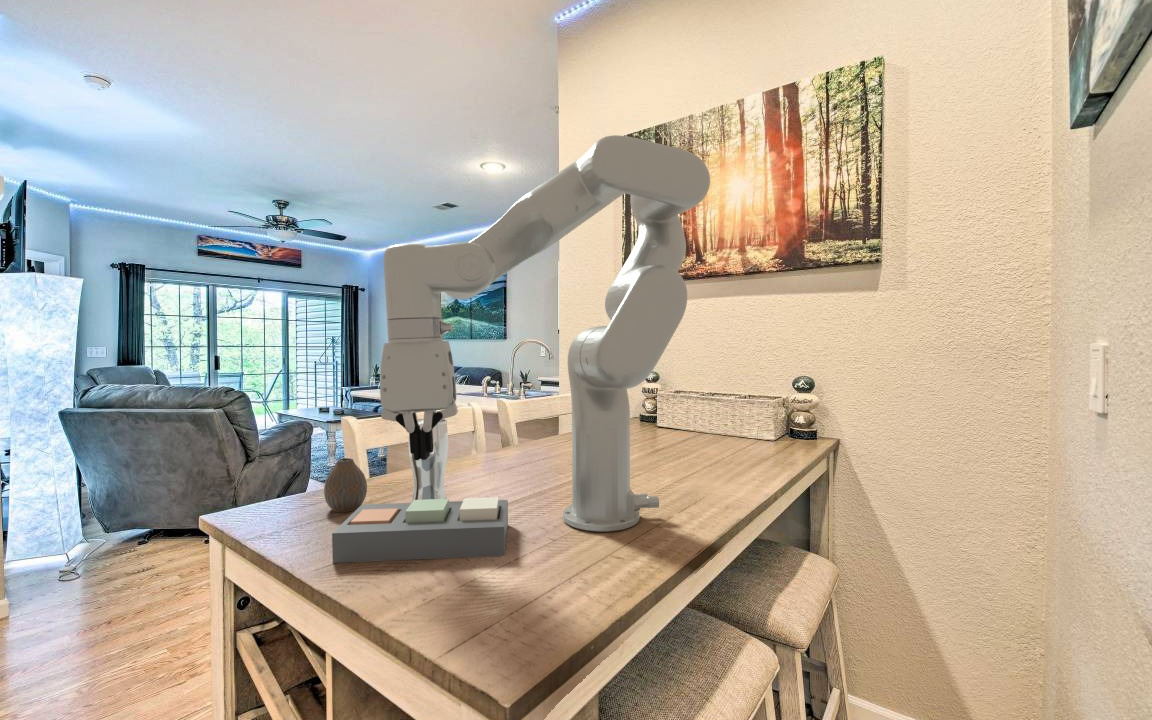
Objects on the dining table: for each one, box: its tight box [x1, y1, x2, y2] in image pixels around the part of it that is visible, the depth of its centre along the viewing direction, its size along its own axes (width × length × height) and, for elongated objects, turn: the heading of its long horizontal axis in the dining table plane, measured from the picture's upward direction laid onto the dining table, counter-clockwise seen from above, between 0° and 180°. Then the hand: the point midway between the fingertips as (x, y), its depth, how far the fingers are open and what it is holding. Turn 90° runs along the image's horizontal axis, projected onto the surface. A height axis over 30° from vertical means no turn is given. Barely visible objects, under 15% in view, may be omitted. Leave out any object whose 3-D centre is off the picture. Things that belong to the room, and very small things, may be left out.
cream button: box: [460, 496, 500, 521], centre depth 75 cm, size 5×5×4 cm
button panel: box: [331, 499, 509, 564], centre depth 74 cm, size 23×12×4 cm, turn 95°
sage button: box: [405, 498, 450, 523], centre depth 74 cm, size 5×5×4 cm
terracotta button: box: [350, 508, 398, 525], centre depth 74 cm, size 5×5×4 cm
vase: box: [323, 457, 368, 513], centre depth 90 cm, size 7×7×9 cm
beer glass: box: [408, 418, 449, 503], centre depth 93 cm, size 7×7×15 cm
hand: (422, 457), depth 74 cm, fingers closed
